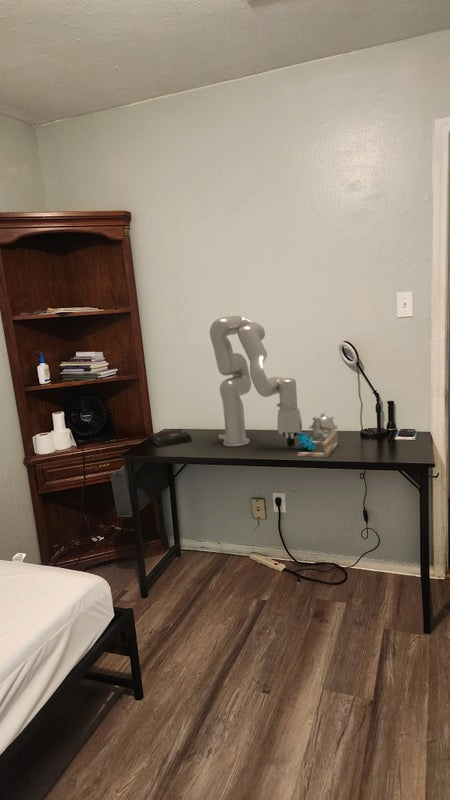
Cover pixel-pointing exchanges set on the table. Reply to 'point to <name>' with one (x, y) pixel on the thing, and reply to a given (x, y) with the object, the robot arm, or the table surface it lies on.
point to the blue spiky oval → (305, 441)
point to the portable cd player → (170, 438)
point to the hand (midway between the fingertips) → (291, 446)
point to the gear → (323, 427)
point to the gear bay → (327, 446)
